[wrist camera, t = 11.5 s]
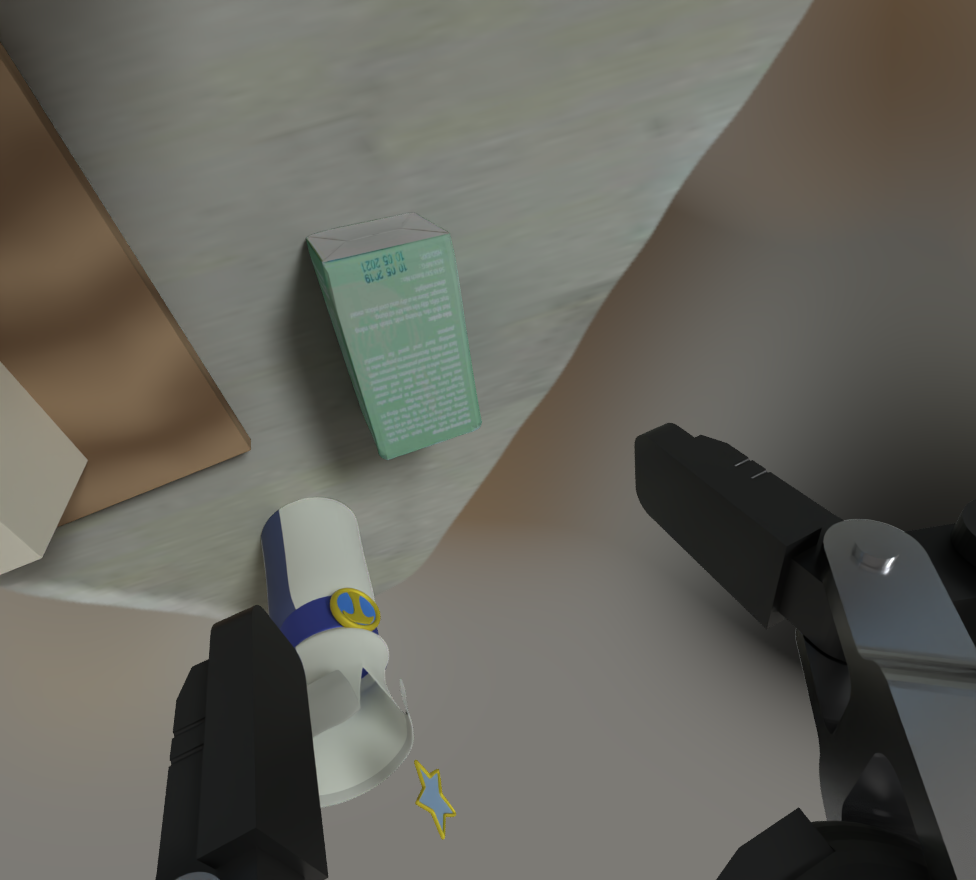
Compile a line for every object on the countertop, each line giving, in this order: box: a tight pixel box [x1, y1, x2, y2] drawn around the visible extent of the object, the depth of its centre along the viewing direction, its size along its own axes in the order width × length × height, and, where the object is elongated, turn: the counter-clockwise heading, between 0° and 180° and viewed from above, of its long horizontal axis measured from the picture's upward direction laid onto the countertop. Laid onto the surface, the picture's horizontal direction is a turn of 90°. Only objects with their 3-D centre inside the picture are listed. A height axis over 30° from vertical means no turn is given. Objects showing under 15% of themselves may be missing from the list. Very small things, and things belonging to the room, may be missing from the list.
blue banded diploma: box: [261, 497, 456, 840], centre depth 32 cm, size 8×9×25 cm
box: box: [306, 213, 482, 460], centre depth 33 cm, size 7×14×8 cm, turn 9°
